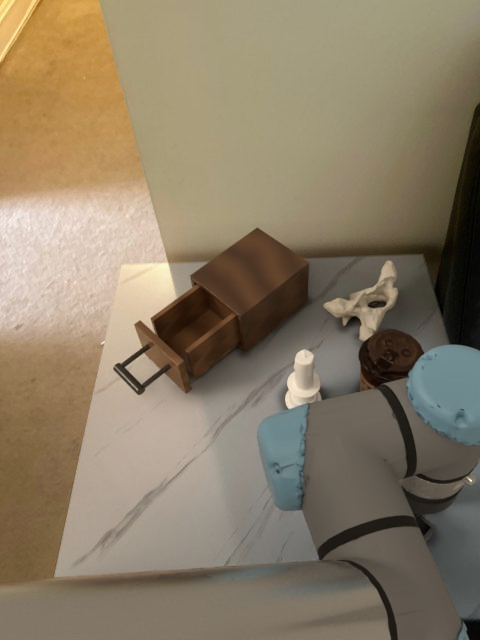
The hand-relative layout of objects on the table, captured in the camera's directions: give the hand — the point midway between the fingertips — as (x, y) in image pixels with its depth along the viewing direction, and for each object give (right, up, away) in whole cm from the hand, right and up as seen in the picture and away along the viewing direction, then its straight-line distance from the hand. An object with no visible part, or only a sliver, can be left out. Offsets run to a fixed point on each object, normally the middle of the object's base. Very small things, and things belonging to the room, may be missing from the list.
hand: (393, 532), depth 71 cm
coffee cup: (+1, +15, +12) cm, 19 cm away
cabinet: (-17, +29, +24) cm, 41 cm away
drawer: (-28, +21, +17) cm, 39 cm away
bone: (0, +27, +21) cm, 35 cm away
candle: (-10, +15, +13) cm, 22 cm away
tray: (0, 0, 0) cm, 0 cm away
